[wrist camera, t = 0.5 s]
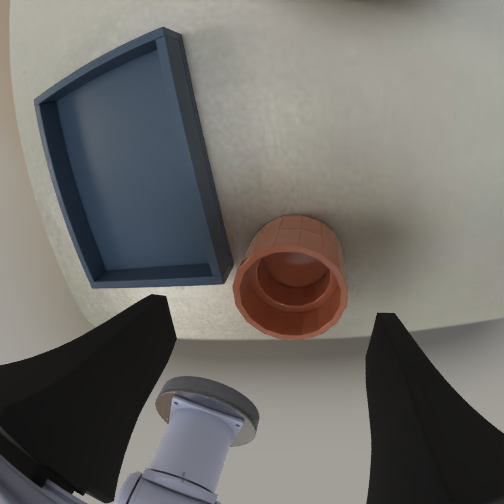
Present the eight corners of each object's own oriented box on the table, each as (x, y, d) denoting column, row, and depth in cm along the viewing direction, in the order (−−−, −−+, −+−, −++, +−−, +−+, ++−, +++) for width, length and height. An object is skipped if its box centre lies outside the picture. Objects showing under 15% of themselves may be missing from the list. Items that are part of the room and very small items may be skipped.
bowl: (321, 304, 20) (319, 351, 16) (241, 276, 20) (222, 319, 16) (357, 231, 17) (367, 270, 13) (266, 198, 17) (250, 228, 13)
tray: (234, 265, 20) (224, 284, 18) (107, 274, 23) (91, 288, 21) (181, 34, 14) (162, 26, 12) (54, 96, 17) (33, 99, 15)
